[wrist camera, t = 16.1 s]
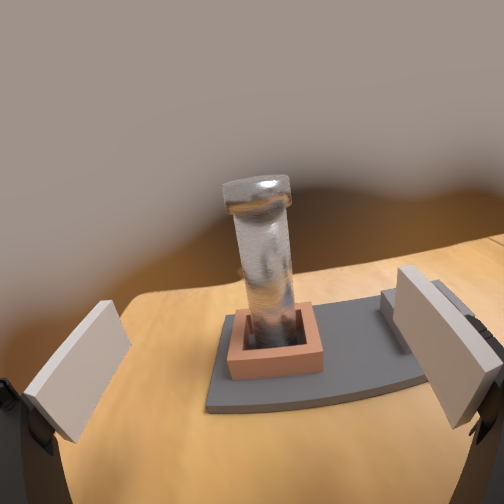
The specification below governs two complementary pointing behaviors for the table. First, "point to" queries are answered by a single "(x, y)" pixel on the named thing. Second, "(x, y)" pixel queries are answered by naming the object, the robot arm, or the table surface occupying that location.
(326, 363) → the dock board
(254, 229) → the pin
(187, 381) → the table surface
